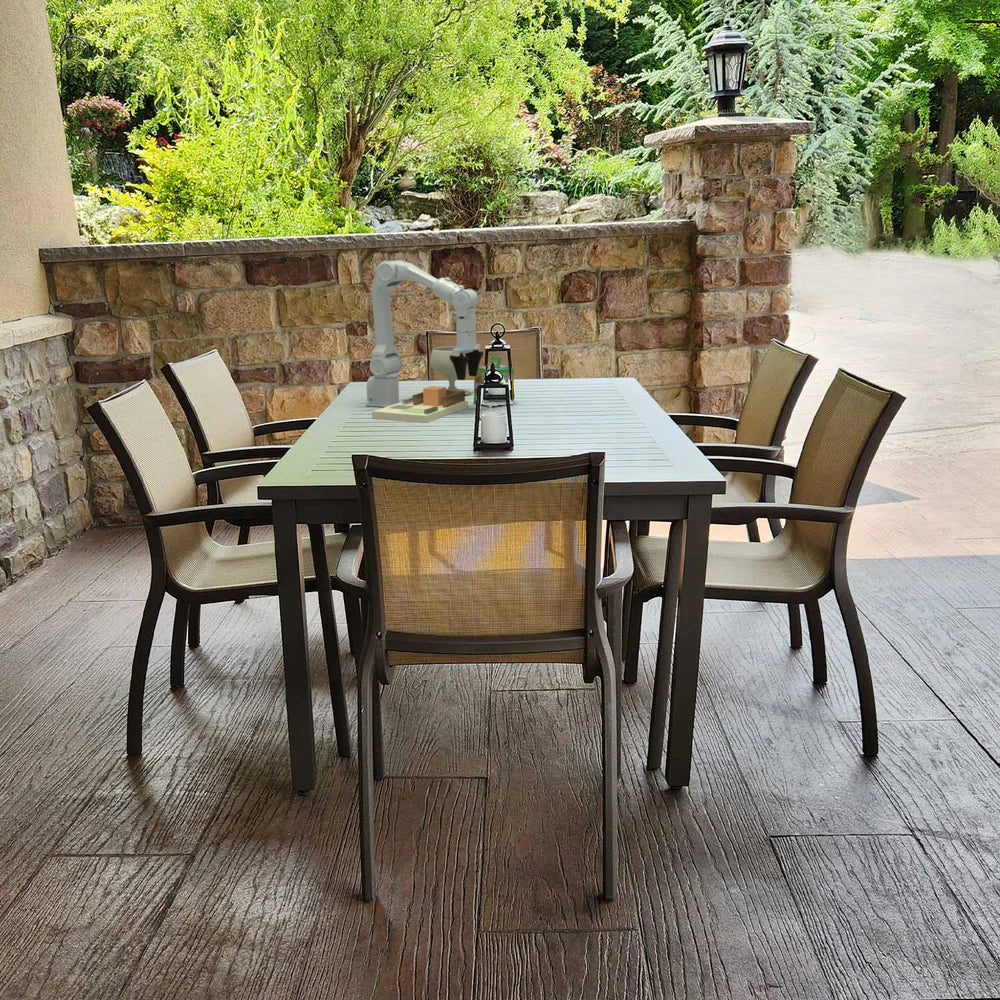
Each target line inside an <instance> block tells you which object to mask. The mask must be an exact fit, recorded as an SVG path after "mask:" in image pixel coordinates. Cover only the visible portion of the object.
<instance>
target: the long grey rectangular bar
mask: <svg viewBox="0 0 1000 1000" xmlns="http://www.w3.org/2000/svg"><path fill="white" fill-rule="evenodd" d="M401 402H402V404H405V405H406V404H409V403H412V402H413V396H411V397H408V398H405V399H402V400H401Z"/></svg>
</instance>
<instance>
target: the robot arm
mask: <svg viewBox="0 0 1000 1000" xmlns="http://www.w3.org/2000/svg"><path fill="white" fill-rule="evenodd" d="M406 280H410V281H411V280H412V281H413V282H416V283H418V284H420V285H422V286H425V287H427V288H428V289H430V290H432V292H433V295H434V296H435V297H438V298H439V299H441V300H443V301H445V302H447V303H449V304H451V305H452V306H453V308H454V310H455V316H456V317H455V319H456V320H455V322H456V324H455V325H456V346H457V347H456V348H455V349H452V355H450V360H451V361H452V363H453V365H454V368H455V371H456V375H457V379H456V380H458V381H460V380H461V381H466V376H467V375H466V374H467V372H468V376H470V377H474V376H476V375H477V371H478V367H480V363H481V360H482V357H484V351H481V343H477V322H476V321H477V320H476V319H477V317H476V315H477V314H476V312H477V311H476V309H477V307H478V304H479V302H480V301H479V299H480V298H479V294H478V293H477V292H476V291H475V290H474V289H473V288H466V289H465V286H464V285H462V284H460V285H459V284H456V283H455V282H453V281H451V280H452V279H451V278H449V277H447V276H446V277H440V278H436V277H434V276H433V275H431V274H429V273H427V272H426V271H424V270H422V269H421V268H419V267H418V266H415V265H414V264H413V263H411V262H407V261H406V260H404V259H398V260H389V261H388V260H383V261H381V262H380V263H379V264H378V265H377V266H376V267H375V268H374V277H373V280H372V283H371V286H370V287H371V288H370V289H371V301H372V303H371V305H372V313H373V315H372V316H373V326H374V327H373V328H374V337H375V340H374V341H375V347H374V348H373V350H372V351H371V353H370V354H371V358H370V359H371V360H370V362H369V370H370V372H371V374H372V376H370V377H369V378H368V379H367V380H366V381H367V383H366V399H367V401H366V404H365V406H367V407H368V406H369V407H380V408H384V407H388V406H391V405H394V404H397V403H400V402H401V401H400V392H399V391H400V390H399V387H400V386H399V372H400V371H401V370H402V367H403V361H402V359H401V356H400V354H399V349H398V348H397V346H396V345H395V343H394V329H393V320H392V319H393V317H392V316H393V315H392V307H391V306H392V304H391V303H392V302H391V292H392V291H393V289H395V287H397V285H399V284H402V283H403V282H405V281H406ZM463 354H465V356H463ZM467 364H468V371H466V366H467Z"/></svg>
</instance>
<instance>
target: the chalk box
mask: <svg viewBox="0 0 1000 1000" xmlns="http://www.w3.org/2000/svg"><path fill="white" fill-rule="evenodd" d="M501 360H502V356H497V355H496V356H495V355H491V358H490V361H489V362H490V363H493V364H494V362H495V361H497V363H496V364H494V366H495V368H496V369H497V370H498V371H499V372H500V373H501V374H502V375H503V376H504V379H505V381H506V383H507V382H508V378H509V367H510V366H506V365H501ZM490 363H489V364H490ZM486 366H487V365H484V366H483V365H482V366H479V367H478V371H477V375H476V376H473V381H474V382H473V383H474V384H473V404H475V405H477V404H476V396H477V387H478V386H479V385H481V384H483V383H484V378H485V373H486ZM514 375H515V369H514V367H511V381H512V401H513V402H514V389H515V388H514V386H515V385H514V382H515V381H514V379H515V376H514Z"/></svg>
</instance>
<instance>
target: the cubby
mask: <svg viewBox="0 0 1000 1000" xmlns="http://www.w3.org/2000/svg"><path fill="white" fill-rule="evenodd" d="M412 397H413V405H419V404H422V403H424V400H423V391H422V392H419V393H416V394H413V395H412ZM442 399H443V407H445V408H446V407H449V406H452V405H454V404H457V403H460V402H463V401H466V395H465V391H458V390H446V396H445V397H442Z"/></svg>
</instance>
